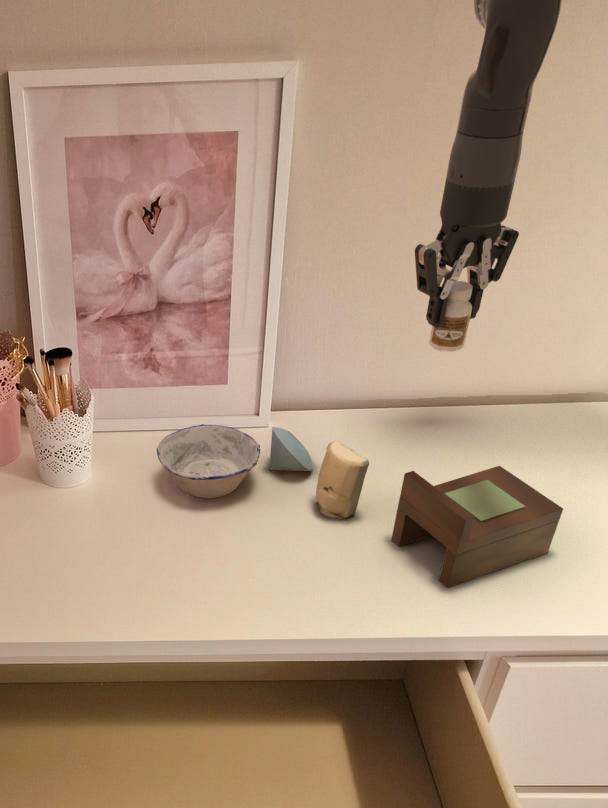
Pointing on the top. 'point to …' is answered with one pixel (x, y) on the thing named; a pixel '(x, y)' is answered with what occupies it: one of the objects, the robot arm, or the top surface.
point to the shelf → (476, 521)
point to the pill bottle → (454, 319)
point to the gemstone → (288, 452)
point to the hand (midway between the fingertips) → (451, 320)
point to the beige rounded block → (340, 481)
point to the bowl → (208, 459)
